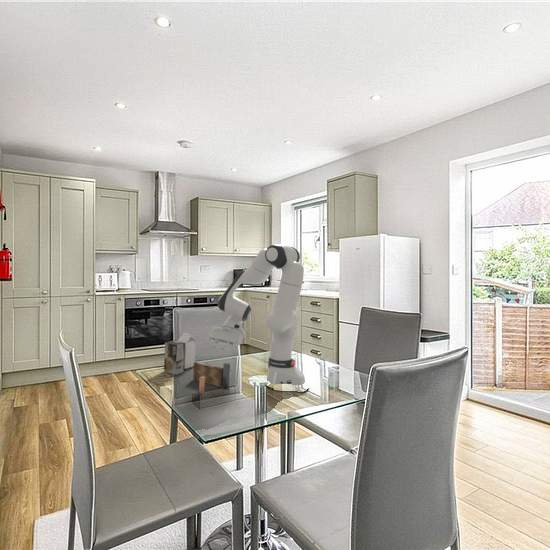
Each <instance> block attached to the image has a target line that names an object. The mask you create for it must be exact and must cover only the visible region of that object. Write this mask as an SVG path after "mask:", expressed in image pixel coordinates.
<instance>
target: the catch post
mask: <svg viewBox="0 0 550 550" xmlns="http://www.w3.org/2000/svg"><path fill="white" fill-rule="evenodd" d="M205 383H206V382H205V377H200V381H199V387H198V394H200V393H201V394H200V395H203V394H205V385H206V384H205Z"/></svg>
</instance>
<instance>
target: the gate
mask: <svg viewBox="0 0 550 550" xmlns="http://www.w3.org/2000/svg"><path fill="white" fill-rule="evenodd" d="M192 375H193V376H192V379H193V380H195V381H199V382H200V377H205V383H206V384H210V385H214V386H218V387H220V388H222V383H223V367H219V366H216V365H215V366H214V365H212V364H207V363H203V362H199V361H195V362H194V367H193V374H192Z"/></svg>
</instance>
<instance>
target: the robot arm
mask: <svg viewBox="0 0 550 550" xmlns="http://www.w3.org/2000/svg"><path fill="white" fill-rule="evenodd" d="M300 259H301V255H300V252H299V250H298V249H297V248H296V247H293V246H290V245H285V244H277V243H275V244H271V245H269V246H268V247H266V248H262V249H261V250H259V252H258V253H257V254H256V256H255V258H254V259H253V260H252V263H251V265H250V266H249V267H248V268H247V269H243V270H241V271H240V272H239V273H238V274H237V276H236V277H235V278H234V279H233V281H232V282H231V283H230V285H229V286H228V287H227V288H226V290H225V291H224V292H223V293H222V294H221V296H219V298H218V300H217V307H218V309H219V310H220V311H222V312H224V313H227V314H228V317H227V318H226V320H225V322H224V323H223V325H216V326H214V327H213V328H212V330H210V332H209V333H208V339H209V340H210V341H212V342H213V343H214V344H213V345H212V348H214V349H217V348H218V343H223V344H224V345H222V347H221V350H223V351H226V350H227V348H229V347H230V346H231V345H232V346H236V347H238V346H240V345H241V344H242V342H243V340H244V338H245V337H244V336H245V335H246V331H245V330H244V328H243V326H242V324H243V323H244V322H246V321H247V320H248V318H249V317H250V315H251V313H252V307H251V305H250V304H249V303H248V302H246V301H244V300H242V299H240V298H238V297H236V296H234V293H235V292H236V290H237V289H238V287H240V285H242V284H250V285H262V284H263V283H265V282H266V281H267V280H268V279H269V277H270V275H271V273H272V271H273V269H274V268H276V269H277V270H281V277H280V282H279V286H278V291H277V295H276V298H275V301H274V302H273V305H272V308H271V310H270V313H269V315H268V316H267V319H266V323H265V324H266V327H267V328H268V330H269V331H270V332H272V333H273V334H272V338H271V340H270V347H269V357H268V361H267V363H268V364H267V365H268V371H267V375H266V379H265V381H266V380H267V381H269V382H270V383H271V384H273V385H275V384H292V385H301V384H304V383H305V382H306V379H305V374H304V373H303V372H302V371H301V370H300V369H298V367H296V359H295V358H292V353H293V351H292V350H293V343H294V342H293V341H294V337H295V332H296V327H297V323H298V320H299V317H298V313H297V312H296V311H295V309H296V306H297V304H298V302H299V300H300V296H301V292H302V287H303V282H304V281H303V280H304V276H305V275H304V273H305V272H304V269H305V268H304V266H303V265H302V264H301V263H300Z"/></svg>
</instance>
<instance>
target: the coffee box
mask: <svg viewBox="0 0 550 550" xmlns="http://www.w3.org/2000/svg"><path fill="white" fill-rule="evenodd" d="M184 353H185V343H183V342H178V340H177V341H176V340H169V341H167V342H164V359H163V360H164V362H163V363H164V365H163V372H165V373H168V374H172V375H178V374H182V373H184V372H185V369H184Z"/></svg>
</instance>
